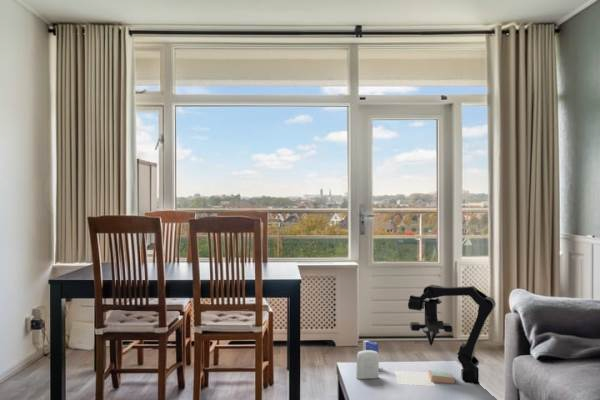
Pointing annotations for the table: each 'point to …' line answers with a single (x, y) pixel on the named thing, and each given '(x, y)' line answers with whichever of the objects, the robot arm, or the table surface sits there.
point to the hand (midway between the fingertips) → (430, 345)
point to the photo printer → (367, 364)
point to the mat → (413, 378)
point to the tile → (441, 376)
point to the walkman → (370, 346)
